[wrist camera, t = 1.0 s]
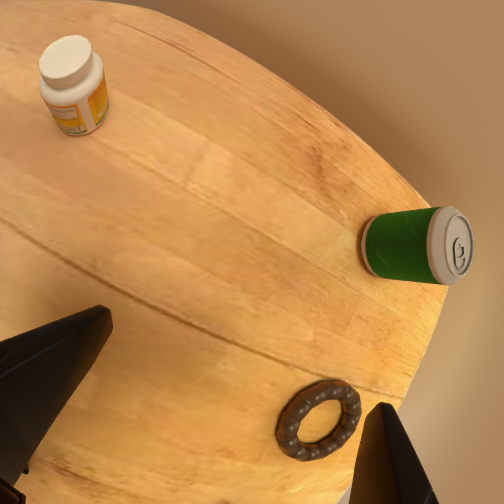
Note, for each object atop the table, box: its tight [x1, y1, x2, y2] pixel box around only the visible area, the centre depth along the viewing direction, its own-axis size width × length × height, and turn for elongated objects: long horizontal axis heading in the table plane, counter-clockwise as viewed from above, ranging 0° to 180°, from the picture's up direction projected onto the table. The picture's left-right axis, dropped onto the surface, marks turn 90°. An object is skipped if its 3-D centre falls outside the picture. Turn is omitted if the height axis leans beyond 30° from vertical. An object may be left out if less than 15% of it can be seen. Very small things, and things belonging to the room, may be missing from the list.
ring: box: [277, 381, 362, 462], centre depth 30 cm, size 11×11×2 cm
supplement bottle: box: [39, 35, 109, 136], centre depth 18 cm, size 5×5×10 cm
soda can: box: [361, 206, 474, 285], centre depth 28 cm, size 8×8×12 cm
